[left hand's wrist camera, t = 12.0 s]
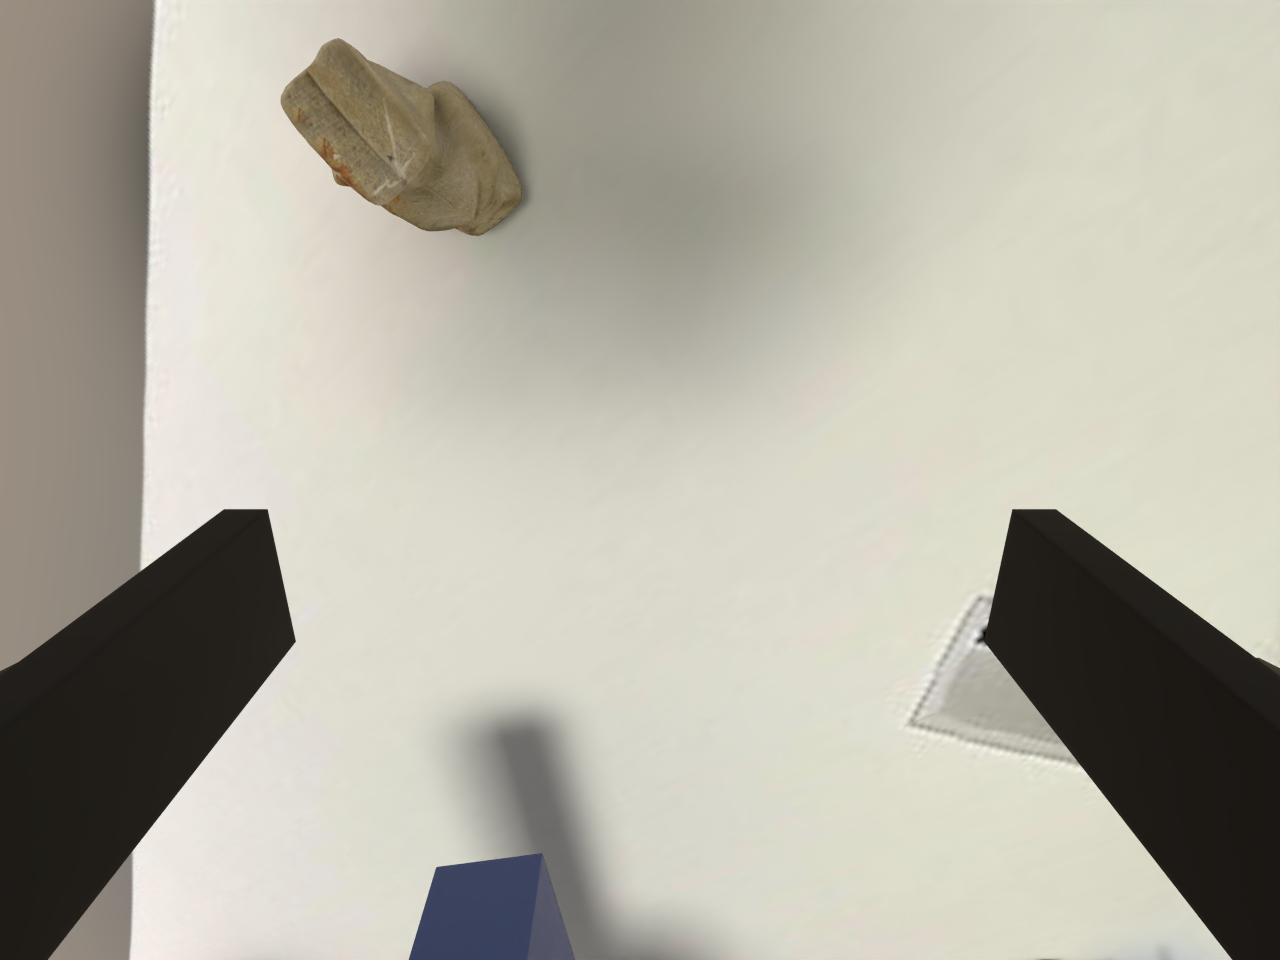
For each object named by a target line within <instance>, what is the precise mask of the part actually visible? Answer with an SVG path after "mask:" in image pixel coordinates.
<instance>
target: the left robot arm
mask: <svg viewBox="0 0 1280 960" xmlns="http://www.w3.org/2000/svg"><path fill="white" fill-rule="evenodd" d="M295 642H296V640H295V636H294V631H293V626H292V622H291V617H290V612H289V608H288V603H287V598H286V594H285V589H284V584H283V579H282V575H281V570H280V565H279V561H278V556H277V551H276V547H275V542H274V537H273V533H272V528H271V523H270V519H269V514H268V509H224V510H223V511H221V512H220V513H219V514H217V515H216V516H215V517H213V518H212V519H210V520H209V521H208V522H206V523H205V524H204V525H202V526H201V527H200V528H198V529H197V530H196V531H194V532H193V533H192V534H190V535H189V536H188V537H186V538H185V539H184V540H182V541H181V542H180V543H178V544H177V545H176V546H174V547H173V548H171V549H170V550H169V551H167V552H166V553H165V554H163V555H162V556H161V557H159V558H158V559H157V560H155V561H154V562H153V563H151V564H150V565H149V566H147V567H146V568H145V569H143V570H142V571H141V572H139V573H138V574H137V575H135V576H134V577H132V578H131V579H130V580H128V581H127V582H126V583H125V584H123V585H122V586H120V587H119V588H118V589H116V590H115V591H114V592H112V593H111V594H110V595H108V596H107V597H106V598H104V599H103V600H102V601H100V602H99V603H98V604H96V605H95V606H94V607H92V608H91V609H89V610H88V611H87V612H85V613H84V614H83V615H81V616H80V617H79V618H77V619H76V620H75V621H73V622H72V623H71V624H69V625H68V626H67V627H65V628H64V629H63V630H61V631H60V632H59V633H57V634H56V635H54V636H53V637H52V638H51V639H49V640H48V641H46V642H45V643H44V644H42V645H41V646H40V647H38V648H37V649H36V650H34V651H33V652H32V653H30V654H29V655H28V656H26V657H25V658H24V659H22V660H21V661H20V662H18V663H16V664H14V665H12V666H10V667H8V668H6V669H4V670H2V671H0V960H48V959H49V957H50V956H51V955H52V954H53V952H54V951H55V950H56V948H57V947H58V946H59V945H60V943H61V942H62V941H63V939H64V938H65V937H66V936H67V934H68V933H69V932H70V930H71V929H72V928H73V927H74V925H75V924H76V923H77V921H78V920H79V919H80V918H81V916H82V915H83V914H84V912H85V911H86V910H87V909H88V907H89V906H90V905H91V904H92V902H93V901H94V900H95V898H96V897H97V896H98V894H99V893H100V892H101V891H102V889H103V888H104V887H105V886H106V884H107V883H108V882H109V880H110V879H111V878H112V877H113V875H114V874H115V873H116V871H117V870H118V869H119V868H120V866H121V865H122V864H123V862H124V861H125V860H126V859H127V857H128V856H129V855H130V854H131V852H132V851H133V850H134V848H135V847H136V846H137V845H138V843H139V842H140V841H141V839H142V838H143V837H144V836H145V834H146V833H147V832H148V830H149V829H150V828H151V827H152V825H153V824H154V823H155V821H156V820H157V819H158V818H159V816H160V815H161V814H162V812H163V811H164V810H165V809H166V807H167V806H168V805H169V803H170V802H171V801H172V800H173V798H174V797H175V796H176V795H177V793H178V792H179V791H180V789H181V788H182V787H183V786H184V784H185V783H186V782H187V780H188V779H189V778H190V777H191V775H192V774H193V773H194V771H195V770H196V769H197V768H198V766H199V765H200V764H201V762H202V761H203V760H204V759H205V757H206V756H207V755H208V753H209V752H210V751H211V750H212V748H213V747H214V746H215V745H216V743H217V742H218V741H219V739H220V738H221V737H222V736H223V734H224V733H225V732H226V730H227V729H228V728H229V727H230V725H231V724H232V723H233V721H234V720H235V719H236V718H237V716H238V715H239V714H240V712H241V711H242V710H243V709H244V707H245V706H246V705H247V703H248V702H249V701H250V700H251V698H252V697H253V696H254V694H255V693H256V692H257V691H258V689H259V688H260V687H261V686H262V684H263V683H264V682H265V680H266V679H267V678H268V677H269V675H270V674H271V673H272V671H273V670H274V669H275V668H276V666H277V665H278V664H279V662H280V661H281V660H282V659H283V657H284V656H285V655H286V653H287V652H288V651H289V650H290V648H291V647H292V646H293V644H294V643H295ZM984 642H985V643H986V644H987V646H988V647H989V648H990V650H991V651H992V652H993V653H994V655H995V656H996V657H997V659H998V660H999V661H1000V662H1001V664H1002V665H1003V666H1004V668H1005V669H1006V670H1007V671H1008V673H1009V674H1010V675H1011V677H1012V678H1013V679H1014V680H1015V682H1016V683H1017V684H1018V686H1019V687H1020V688H1021V689H1022V691H1023V692H1024V693H1025V694H1026V696H1027V697H1028V698H1029V700H1030V701H1031V702H1032V703H1033V705H1034V706H1035V707H1036V709H1037V710H1038V711H1039V712H1040V714H1041V715H1042V716H1043V718H1044V719H1045V720H1046V721H1047V723H1048V724H1049V725H1050V727H1051V728H1052V729H1053V730H1054V732H1055V733H1056V734H1057V736H1058V737H1059V738H1060V739H1061V741H1062V742H1063V743H1064V745H1065V746H1066V747H1067V748H1068V750H1069V751H1070V752H1071V753H1072V755H1073V756H1074V757H1075V759H1076V760H1077V761H1078V762H1079V764H1080V765H1081V766H1082V768H1083V769H1084V770H1085V771H1086V773H1087V774H1088V775H1089V777H1090V778H1091V779H1092V780H1093V782H1094V783H1095V784H1096V786H1097V787H1098V788H1099V789H1100V791H1101V792H1102V793H1103V795H1104V796H1105V797H1106V798H1107V800H1108V801H1109V802H1110V803H1111V805H1112V806H1113V807H1114V809H1115V810H1116V811H1117V812H1118V814H1119V815H1120V816H1121V818H1122V819H1123V820H1124V821H1125V823H1126V824H1127V825H1128V827H1129V828H1130V829H1131V830H1132V832H1133V833H1134V834H1135V836H1136V837H1137V838H1138V839H1139V841H1140V842H1141V843H1142V845H1143V846H1144V847H1145V848H1146V850H1147V851H1148V852H1149V854H1150V855H1151V856H1152V857H1153V859H1154V860H1155V861H1156V862H1157V864H1158V865H1159V866H1160V868H1161V869H1162V870H1163V871H1164V873H1165V874H1166V875H1167V877H1168V878H1169V879H1170V880H1171V882H1172V883H1173V884H1174V886H1175V887H1176V888H1177V889H1178V891H1179V892H1180V893H1181V895H1182V896H1183V897H1184V898H1185V900H1186V901H1187V902H1188V904H1189V905H1190V906H1191V907H1192V909H1193V910H1194V911H1195V913H1196V914H1197V915H1198V916H1199V918H1200V919H1201V920H1202V921H1203V923H1204V924H1205V925H1206V927H1207V928H1208V929H1209V930H1210V932H1211V933H1212V934H1213V936H1214V937H1215V938H1216V939H1217V941H1218V942H1219V943H1220V945H1221V946H1222V947H1223V948H1224V950H1225V951H1226V952H1227V954H1228V955H1229V956H1230V957H1231V959H1232V960H1280V668H1278V667H1276V666H1274V665H1272V664H1270V663H1268V662H1266V661H1264V660H1262V659H1260V658H1255V657H1254V656H1252V655H1251V654H1250V653H1248V652H1247V651H1246V650H1244V649H1243V648H1242V647H1240V646H1239V645H1238V644H1236V643H1235V642H1234V641H1232V640H1231V639H1230V638H1228V637H1227V636H1226V635H1224V634H1223V633H1221V632H1220V631H1219V630H1217V629H1216V628H1215V627H1213V626H1212V625H1211V624H1209V623H1208V622H1207V621H1205V620H1204V619H1203V618H1201V617H1200V616H1199V615H1197V614H1196V613H1195V612H1193V611H1192V610H1191V609H1189V608H1188V607H1187V606H1185V605H1184V604H1182V603H1181V602H1180V601H1178V600H1177V599H1176V598H1174V597H1173V596H1172V595H1170V594H1169V593H1168V592H1166V591H1165V590H1164V589H1162V588H1161V587H1160V586H1158V585H1157V584H1156V583H1154V582H1153V581H1152V580H1150V579H1149V578H1148V577H1146V576H1145V575H1143V574H1142V573H1141V572H1139V571H1138V570H1137V569H1135V568H1134V567H1133V566H1131V565H1130V564H1129V563H1127V562H1126V561H1125V560H1123V559H1122V558H1121V557H1119V556H1118V555H1117V554H1115V553H1114V552H1113V551H1111V550H1110V549H1109V548H1107V547H1106V546H1104V545H1103V544H1102V543H1100V542H1099V541H1098V540H1096V539H1095V538H1094V537H1092V536H1091V535H1090V534H1088V533H1087V532H1086V531H1084V530H1083V529H1082V528H1080V527H1079V526H1078V525H1076V524H1075V523H1074V522H1072V521H1071V520H1070V519H1068V518H1067V517H1065V516H1064V515H1063V514H1061V513H1060V512H1059V511H1057V510H1056V509H1012V514H1011V519H1010V523H1009V528H1008V533H1007V537H1006V542H1005V547H1004V551H1003V556H1002V561H1001V565H1000V570H999V575H998V579H997V584H996V589H995V594H994V598H993V603H992V608H991V612H990V617H989V622H988V626H987V631H986V636H985V640H984Z"/></svg>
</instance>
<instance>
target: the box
mask: <svg viewBox="0 0 1280 960" xmlns="http://www.w3.org/2000/svg"><path fill="white" fill-rule="evenodd" d="M409 960H575V958H574V955H573V952H572V948H571V945H570V942H569V939H568V936H567V932H566V929H565V926H564V923H563V919H562V916H561V913H560V910H559V906H558V903H557V900H556V897H555V893H554V890H553V887H552V884H551V880H550V877H549V874H548V871H547V867H546V864H545V861H544V858H543V854H533V855H526V856H518V857H510V858H503V859H495V860H487V861H480V862H472V863H464V864H457V865H449V866H441V867H436V870H435V874H434V877H433V880H432V884H431V887H430V890H429V894H428V897H427V900H426V904H425V907H424V910H423V914H422V917H421V921H420V924H419V927H418V931H417V934H416V937H415V941H414V944H413V947H412V951H411V954H410V957H409Z"/></svg>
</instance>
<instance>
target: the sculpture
mask: <svg viewBox="0 0 1280 960" xmlns="http://www.w3.org/2000/svg"><path fill="white" fill-rule="evenodd" d="M281 105H282V108H283V110H284V111H285V113H286V115H287V116H288V118H289V119H290V121H291V122H292V124H293V125H294V126H295V128H296V129H297V130H298V131H299V132H300V134H301V135H302V136H303V137H304V138H305V139H306V141H307V142H308V143H309V145H310V146H311V147H312V148H313V149H314V150H315V151H316V152H317V153H318V154H319V155H320V156H321V157H322V158H323V159H324V160H325V162H326V163H327V164H328V165H329V166H330V167H331V168H332V172H333V177H334V180H335V182H336V183H337V184H339V185H342V186H350V187H351V188H353V189H354V190H355V191H356V192H358V193H359V194H360V195H361V196H362V197H364V198H365V199H366V200H368V201H369V202H371V203H373V204H375V205H381V206H382V207H384V208H385V209H386V210H387V211H389V212H390V213H392V214H394V215H396V216H398V217H400V218H402V219H404V220H405V221H407V222H409V223H411V224H413V225H415V226H417V227H418V228H420V229H423V230H426V231H443V230H449V229H453V228H456V229H458V230H460V231H462V232H464V233H466V234H469V235H476V236H478V235H482V234H484V233H485V232H487V231H488V230H490V229H491V228H492V227H494V226H495V225H497V224H498V223H499V222H500V221H502V220H503V219H504V218H505V217H506V216H507V215H508V214H509V213H511V212H512V211H513V210H514V209H515V208H516V207H517V206H518V204H519V203H520V201H521V199H522V194H521V189H522V185H521V182H520V180H519V179H518V177H517V175H516V174H515V172H514V170H513V168H512V166H511V164H510V162H509V160H508V158H507V156H506V154H505V153H504V151H503V149H502V148H501V146H500V145H499V143H498V141H497V140H496V138H495V137H494V135H493V134H492V132H491V131H490V129H489V128H488V127H487V125H486V124H485V122H484V121H483V120H482V118H481V117H480V115H479V114H478V113H477V112H476V110H475V109H474V108H473V107H472V105H471V104H470V103H469V102H468V100H467V99H466V98H465V97H464V95H463V94H462V93H461V92H460V91H459V90H458V89H457V87H456V86H455V85H453V84H451V83H449V82H446V81H443V82H438V83H436V84H433V85H432V86H430V87H429V88H427V89H425V88H423V87H422V86H420V85H418V84H416V83H414V82H412V81H410V80H408V79H406V78H404V77H402V76H400V75H398V74H396V73H394V72H392V71H390V70H388V69H386V68H384V67H382V66H381V65H378V64H376V63H373V62H371V61H369V60H367V59H366V58H365V57H364V56H363V55H362V54H361V53H360V52H359V51H358V50H356V49H355V48H354V47H352V46H351V45H350V44H348V43H346V42H345V41H343V40H341V39H334V40H331V41H329V42H327V43H326V44H324V45H323V46H322V47H321V48H320V50H319V52H318V54H317V56H316V58H315V60H314V61H313V63H312V64H311V65H310V66H309V67H308V68H307V69H305V70H304V71H303V72H302V73H301V74H299V75H298V76H297V77H296V78H295V79H293V80H292V81H291V82H290V83H289V84H288V85H287V86H286V88H285V89H284V91H283V93H282V95H281Z"/></svg>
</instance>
